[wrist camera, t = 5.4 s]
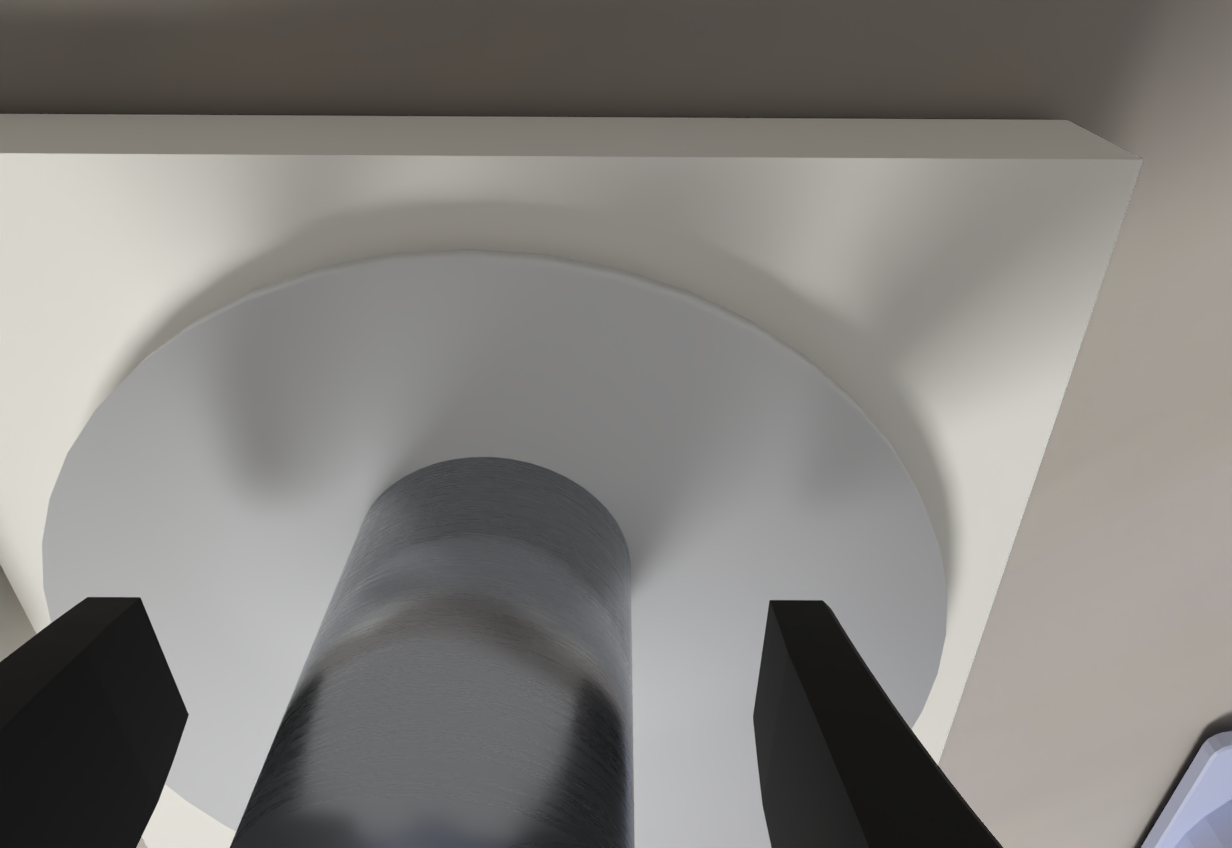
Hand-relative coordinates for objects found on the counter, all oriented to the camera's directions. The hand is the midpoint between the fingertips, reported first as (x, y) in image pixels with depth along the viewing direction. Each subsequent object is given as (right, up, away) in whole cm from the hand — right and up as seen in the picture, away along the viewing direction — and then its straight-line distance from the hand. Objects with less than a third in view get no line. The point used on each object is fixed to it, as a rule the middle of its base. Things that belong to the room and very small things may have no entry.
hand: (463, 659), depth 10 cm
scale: (-2, 0, +6) cm, 6 cm away
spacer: (0, +1, +2) cm, 3 cm away
